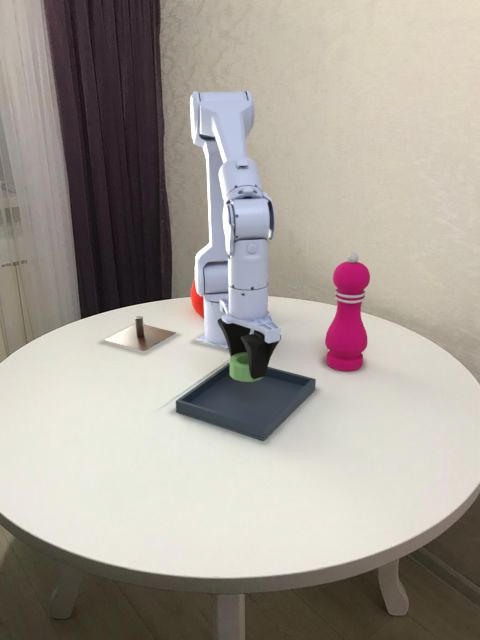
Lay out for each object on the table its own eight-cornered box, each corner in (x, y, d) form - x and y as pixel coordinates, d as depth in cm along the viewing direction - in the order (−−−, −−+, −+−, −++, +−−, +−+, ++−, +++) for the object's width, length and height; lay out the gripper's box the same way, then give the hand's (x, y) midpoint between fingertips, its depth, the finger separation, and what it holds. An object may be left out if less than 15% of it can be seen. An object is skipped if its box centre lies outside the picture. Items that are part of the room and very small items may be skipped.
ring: (241, 363, 93) (241, 349, 92) (271, 370, 91) (271, 356, 90) (223, 376, 89) (222, 362, 88) (253, 385, 87) (254, 370, 86)
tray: (235, 368, 103) (235, 357, 102) (315, 389, 95) (315, 378, 94) (176, 412, 89) (175, 400, 88) (263, 441, 82) (264, 429, 81)
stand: (137, 325, 121) (135, 304, 119) (176, 335, 116) (175, 314, 114) (103, 342, 113) (101, 321, 111) (144, 354, 108) (142, 331, 106)
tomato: (181, 315, 126) (179, 276, 122) (219, 302, 132) (219, 265, 129) (213, 329, 118) (212, 288, 115) (252, 315, 125) (252, 276, 121)
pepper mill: (363, 355, 107) (373, 247, 98) (367, 373, 100) (378, 259, 92) (322, 354, 107) (329, 246, 99) (324, 372, 101) (332, 258, 92)
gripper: (201, 274, 88) (203, 356, 94) (249, 304, 77) (248, 395, 82) (242, 267, 91) (242, 347, 97) (294, 295, 80) (291, 383, 85)
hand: (248, 368), depth 90 cm, fingers closed on ring, 5 cm apart
